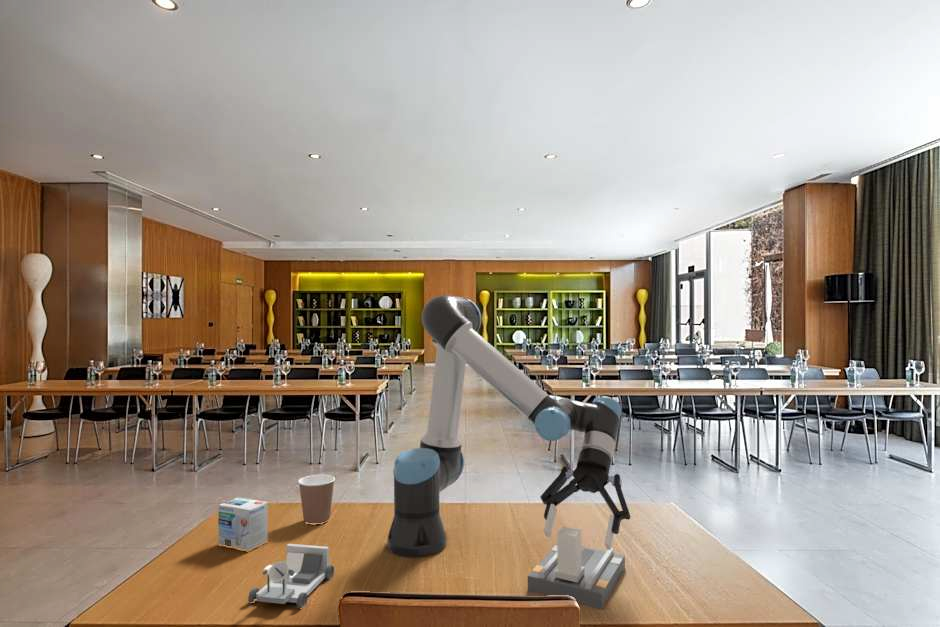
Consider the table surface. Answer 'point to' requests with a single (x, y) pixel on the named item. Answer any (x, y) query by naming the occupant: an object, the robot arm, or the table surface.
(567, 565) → the switch slider
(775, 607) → the table surface
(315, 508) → the coffee cup
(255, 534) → the light bulb box
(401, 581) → the table surface
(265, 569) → the toy car
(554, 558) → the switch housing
